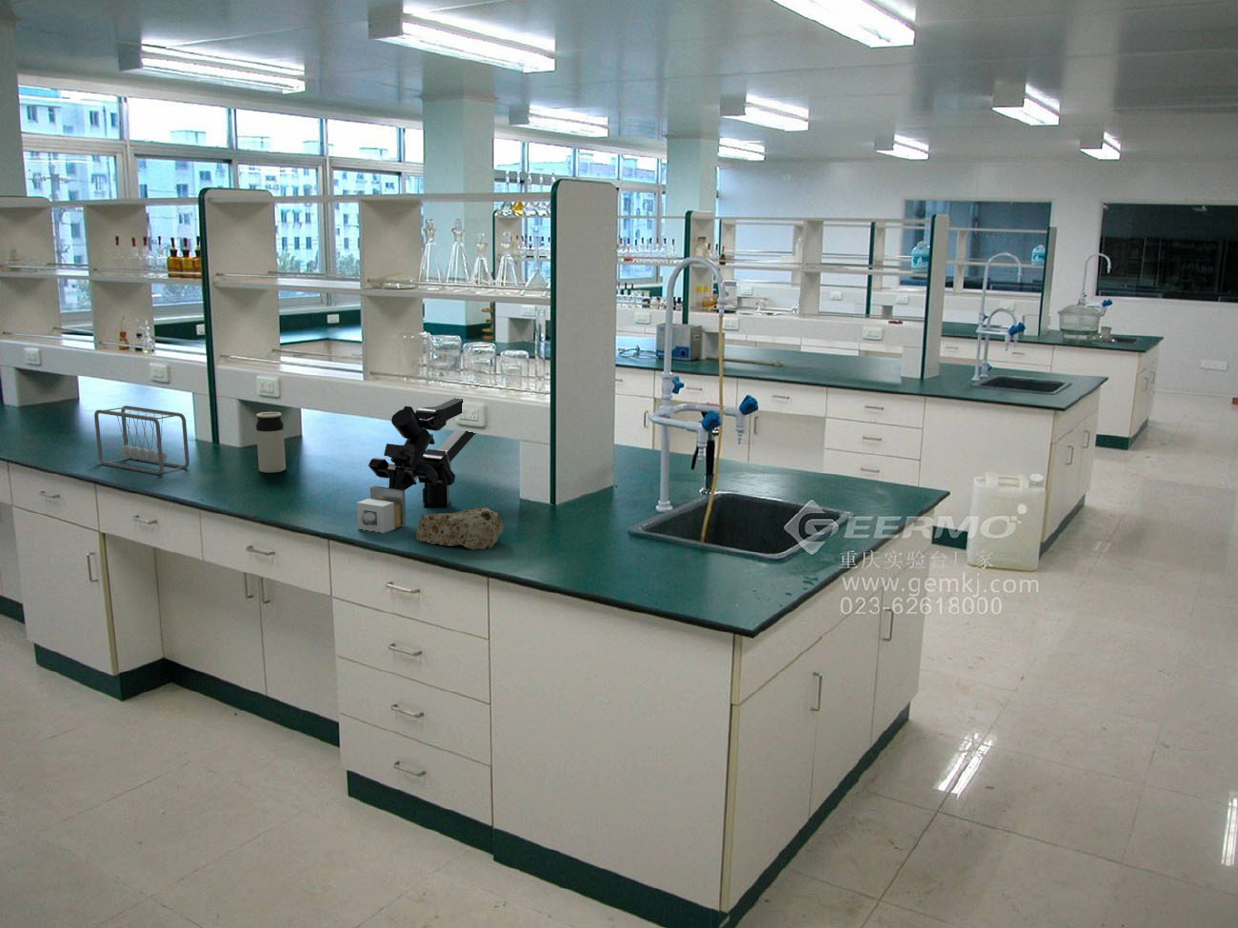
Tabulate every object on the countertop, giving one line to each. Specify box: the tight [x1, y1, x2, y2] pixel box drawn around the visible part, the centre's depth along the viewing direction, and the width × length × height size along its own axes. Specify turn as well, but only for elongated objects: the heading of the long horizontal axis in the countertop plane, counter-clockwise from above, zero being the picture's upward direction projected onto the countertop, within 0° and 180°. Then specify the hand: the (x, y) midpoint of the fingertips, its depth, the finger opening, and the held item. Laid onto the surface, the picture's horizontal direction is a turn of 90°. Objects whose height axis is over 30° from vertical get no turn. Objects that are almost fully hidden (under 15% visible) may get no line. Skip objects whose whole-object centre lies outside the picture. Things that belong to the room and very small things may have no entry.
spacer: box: [394, 504, 402, 529], centre depth 255 cm, size 2×9×6 cm, turn 66°
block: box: [356, 498, 396, 534], centre depth 252 cm, size 4×8×7 cm, turn 65°
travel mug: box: [255, 411, 287, 474], centre depth 311 cm, size 8×8×18 cm
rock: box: [415, 506, 505, 551], centre depth 244 cm, size 21×14×10 cm
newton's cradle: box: [94, 405, 190, 476], centre depth 313 cm, size 30×10×18 cm, turn 62°
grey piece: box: [361, 485, 407, 526], centre depth 252 cm, size 9×10×9 cm
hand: (389, 498), depth 256 cm, fingers closed, pressing on grey piece
